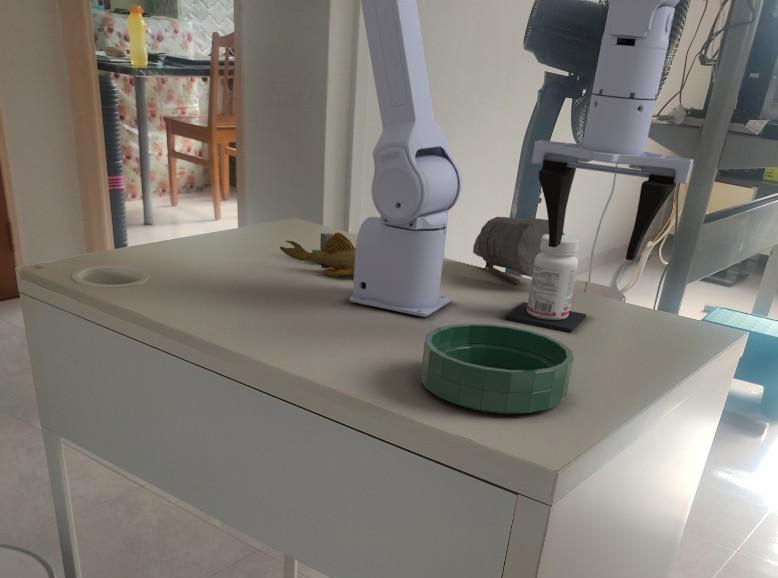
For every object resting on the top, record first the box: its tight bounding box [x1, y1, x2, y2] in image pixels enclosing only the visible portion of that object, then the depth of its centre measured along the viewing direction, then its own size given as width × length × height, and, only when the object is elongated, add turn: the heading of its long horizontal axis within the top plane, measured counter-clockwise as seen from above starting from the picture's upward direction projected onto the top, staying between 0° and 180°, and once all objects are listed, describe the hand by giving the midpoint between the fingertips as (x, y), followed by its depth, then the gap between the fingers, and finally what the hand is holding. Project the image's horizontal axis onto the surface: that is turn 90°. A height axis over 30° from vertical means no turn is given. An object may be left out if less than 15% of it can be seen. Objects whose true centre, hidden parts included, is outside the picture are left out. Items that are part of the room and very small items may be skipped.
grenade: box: [472, 216, 566, 285], centre depth 109 cm, size 8×8×15 cm
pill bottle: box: [527, 234, 580, 320], centre depth 93 cm, size 5×5×8 cm
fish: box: [279, 232, 356, 278], centre depth 104 cm, size 5×14×5 cm, turn 77°
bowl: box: [420, 322, 575, 415], centre depth 73 cm, size 13×13×4 cm
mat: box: [504, 301, 587, 333], centre depth 95 cm, size 8×7×1 cm
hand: (592, 251), depth 83 cm, fingers open, 7 cm apart
